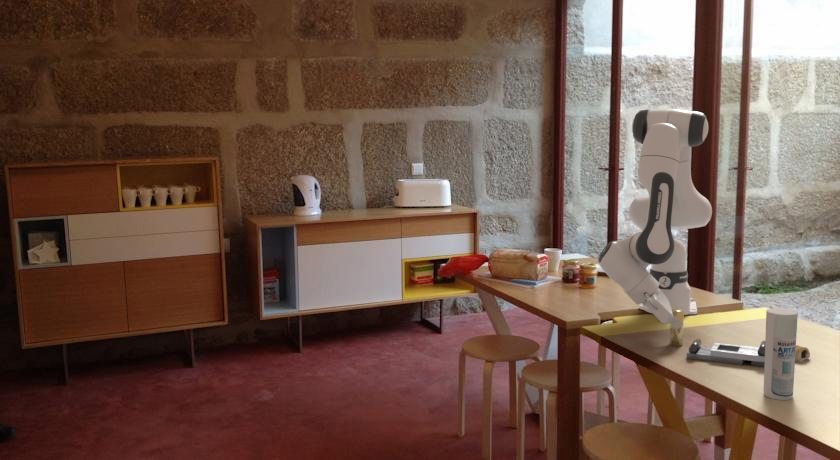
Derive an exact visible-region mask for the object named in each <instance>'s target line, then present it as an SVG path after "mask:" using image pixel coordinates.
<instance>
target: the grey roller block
mask: <svg viewBox="0 0 840 460" xmlns="http://www.w3.org/2000/svg"><path fill="white" fill-rule="evenodd" d="M686 359H690V360H696V361H697V360H698V361H706V362H714V363H722V364H730V365H737V366H743V365H744V362H745V361H750V362H751V363H750V365H751V366H755V367H763V368H764V366H765V340H762V341H760V345H759V347H758V346H751V345H750V346H748V345H743V344H741V345H739V344H733V343H731V344H730V343H721V342H714V343H713V345H712V347H711V346H702V340H701V339H700V338H695V339H694V340H693V342H692V343H691V345H690V346H689V348H688V350H687V352H686Z"/></svg>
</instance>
